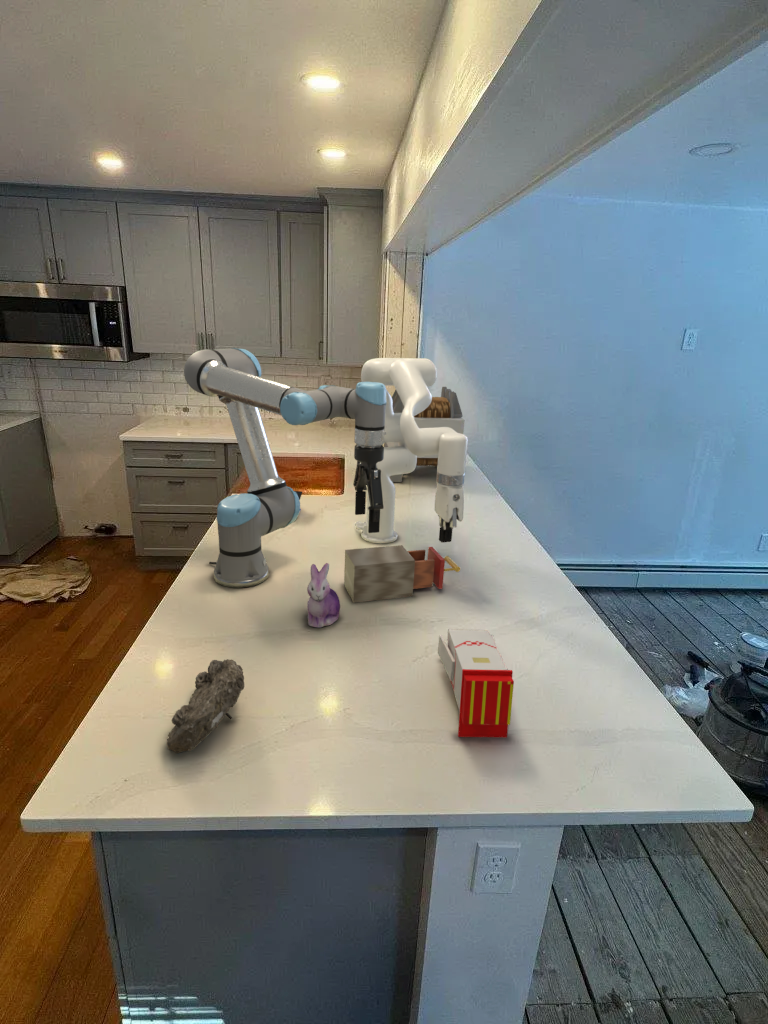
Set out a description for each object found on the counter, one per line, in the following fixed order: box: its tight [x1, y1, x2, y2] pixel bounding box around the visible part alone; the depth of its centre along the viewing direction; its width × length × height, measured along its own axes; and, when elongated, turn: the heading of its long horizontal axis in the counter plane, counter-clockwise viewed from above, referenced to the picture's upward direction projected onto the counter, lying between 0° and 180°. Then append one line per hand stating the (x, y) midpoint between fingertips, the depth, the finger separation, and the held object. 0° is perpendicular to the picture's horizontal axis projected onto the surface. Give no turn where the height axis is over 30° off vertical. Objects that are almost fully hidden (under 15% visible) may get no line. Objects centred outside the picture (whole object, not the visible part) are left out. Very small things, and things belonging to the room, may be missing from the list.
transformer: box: [383, 386, 465, 483], centre depth 268 cm, size 34×33×41 cm
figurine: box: [306, 562, 341, 628], centre depth 141 cm, size 9×10×15 cm
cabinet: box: [343, 544, 415, 604], centre depth 157 cm, size 17×11×11 cm, turn 107°
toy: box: [437, 628, 515, 738], centre depth 117 cm, size 12×13×30 cm
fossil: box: [166, 658, 245, 754], centre depth 106 cm, size 22×10×15 cm
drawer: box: [407, 546, 461, 590], centre depth 161 cm, size 21×10×9 cm, turn 107°
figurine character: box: [294, 490, 303, 511], centre depth 212 cm, size 7×8×15 cm
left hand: (366, 522), depth 151 cm, fingers open, 13 cm apart
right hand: (445, 540), depth 160 cm, fingers closed
